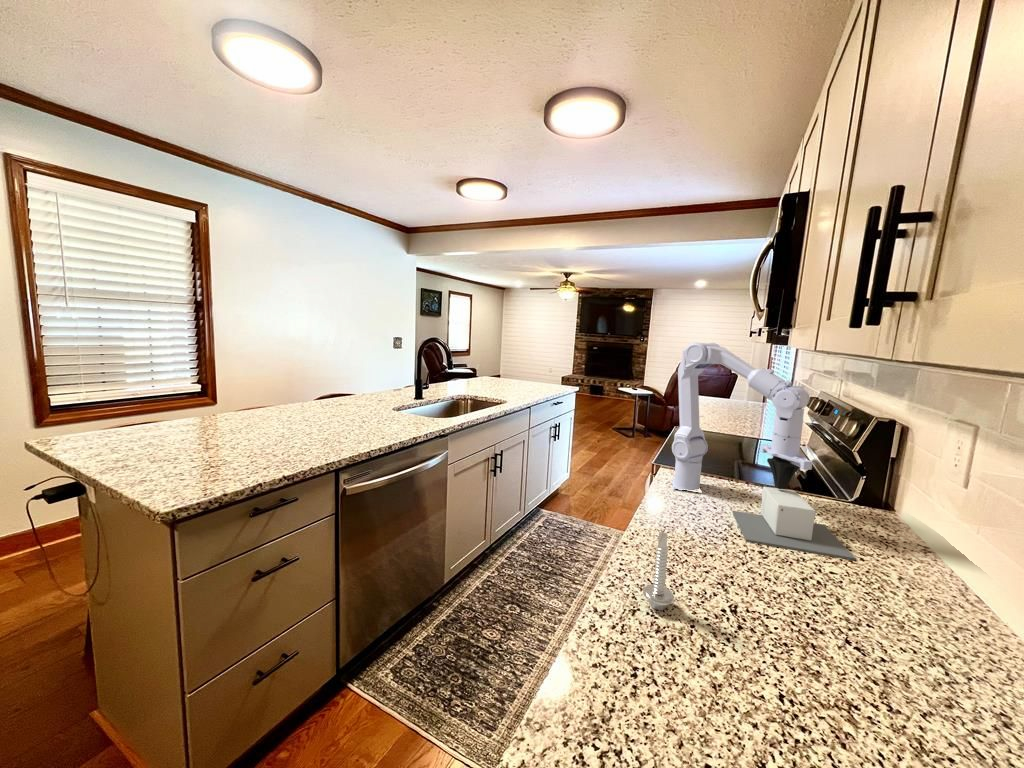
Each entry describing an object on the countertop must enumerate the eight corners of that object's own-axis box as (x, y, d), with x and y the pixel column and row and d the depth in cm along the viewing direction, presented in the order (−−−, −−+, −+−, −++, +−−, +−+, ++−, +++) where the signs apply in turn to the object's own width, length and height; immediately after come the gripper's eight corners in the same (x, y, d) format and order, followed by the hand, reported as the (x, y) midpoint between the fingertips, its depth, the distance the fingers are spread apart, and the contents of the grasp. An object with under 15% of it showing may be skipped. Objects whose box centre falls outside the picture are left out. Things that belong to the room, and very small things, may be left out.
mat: (732, 512, 103) (732, 510, 103) (823, 526, 97) (824, 524, 96) (745, 541, 88) (746, 539, 88) (855, 560, 82) (855, 558, 82)
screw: (673, 618, 63) (641, 610, 64) (672, 600, 67) (642, 593, 69) (680, 541, 61) (647, 535, 63) (678, 528, 66) (647, 522, 67)
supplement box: (759, 513, 102) (773, 535, 90) (763, 485, 101) (777, 504, 89) (792, 518, 100) (811, 542, 88) (796, 490, 99) (816, 510, 87)
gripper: (751, 428, 104) (746, 477, 105) (794, 442, 89) (787, 499, 91) (777, 428, 104) (771, 477, 106) (823, 443, 90) (816, 500, 91)
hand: (780, 488), depth 98 cm, fingers closed
